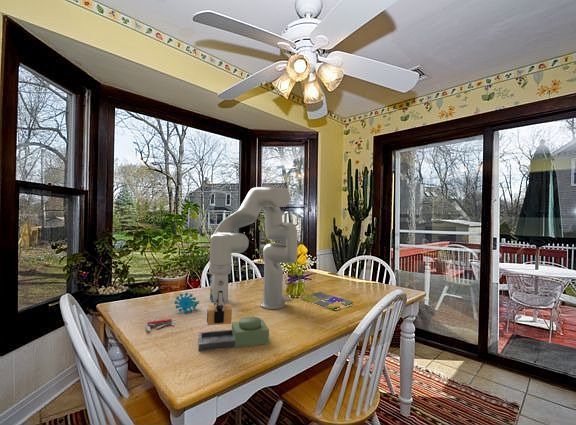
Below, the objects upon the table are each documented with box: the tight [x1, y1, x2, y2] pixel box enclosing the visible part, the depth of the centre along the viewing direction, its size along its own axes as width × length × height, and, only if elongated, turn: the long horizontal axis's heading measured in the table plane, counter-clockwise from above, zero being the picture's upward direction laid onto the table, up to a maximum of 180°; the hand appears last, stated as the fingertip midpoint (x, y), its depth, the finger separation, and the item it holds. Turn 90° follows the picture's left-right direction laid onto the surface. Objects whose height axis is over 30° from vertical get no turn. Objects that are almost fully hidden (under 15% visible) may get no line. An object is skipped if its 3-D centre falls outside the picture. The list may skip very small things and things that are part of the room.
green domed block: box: [231, 316, 270, 348], centre depth 107 cm, size 12×10×7 cm
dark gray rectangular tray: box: [197, 329, 236, 352], centre depth 103 cm, size 12×10×2 cm
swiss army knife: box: [146, 317, 177, 332], centre depth 117 cm, size 12×14×2 cm
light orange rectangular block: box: [206, 303, 233, 326], centre depth 103 cm, size 8×6×5 cm
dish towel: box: [301, 291, 354, 311], centre depth 155 cm, size 18×24×3 cm
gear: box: [174, 292, 200, 314], centre depth 136 cm, size 11×6×10 cm
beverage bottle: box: [209, 274, 214, 302], centre depth 153 cm, size 8×8×20 cm
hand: (218, 318), depth 103 cm, fingers closed on light orange rectangular block, 6 cm apart
